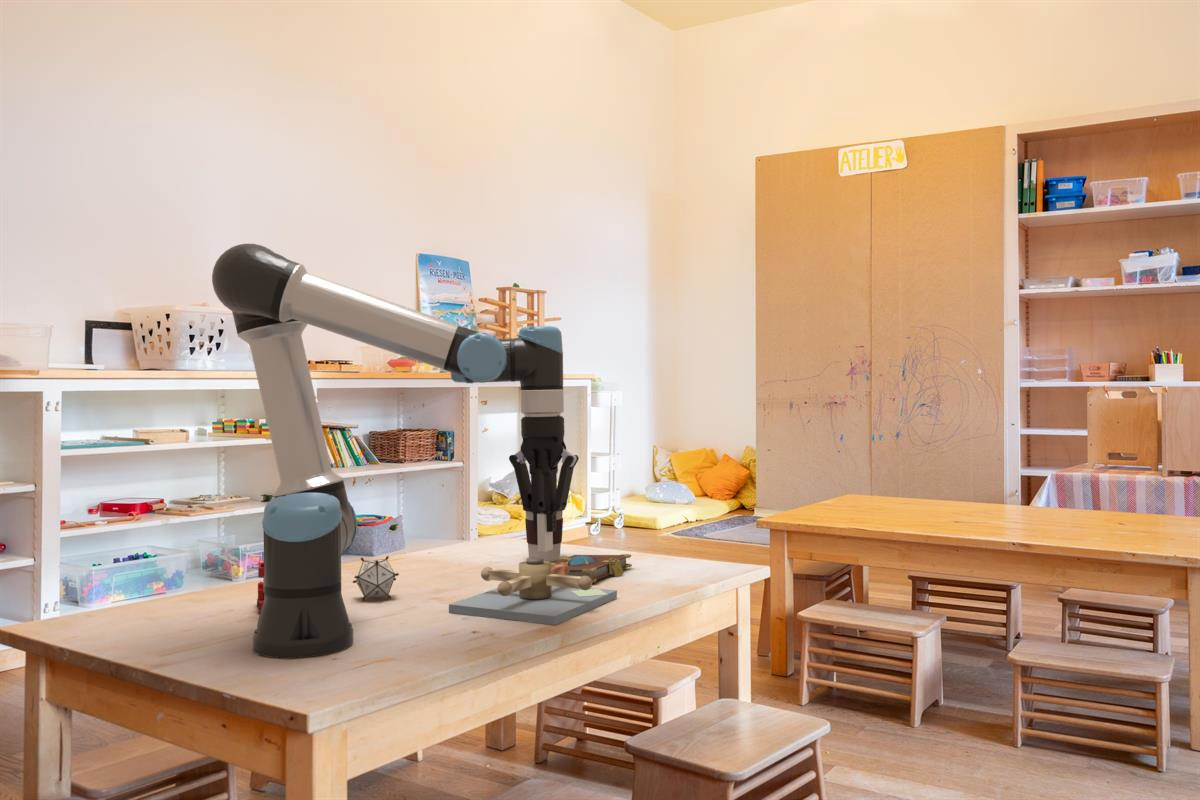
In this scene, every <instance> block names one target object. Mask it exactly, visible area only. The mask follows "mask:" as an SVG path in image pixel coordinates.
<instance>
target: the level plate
mask: <svg viewBox="0 0 1200 800" xmlns="http://www.w3.org/2000/svg"><path fill="white" fill-rule="evenodd" d="M617 598H618V590H615V589H608V588H607V589H606V588H605V589H604V588H597V587H596V588H595V587H591V588H590V589H589V590H582V589H579V588H568V587H558V586H552V596H550V597H548V598H542V599H526V598H521V597H520V596H519V591H517V592H514V593H511V594H509V595H508V596H502V595H500V594H499V592H498V587H497V588H493V589H491V590H487V591H485V592H481V593H478V594H476V595H473V596H470V597H467V598H464V599H461V600H458V601H455V602H452V603H449V604H448V613H449V614H458V615H467V616H473V617H474V616H475V617H481V618H482V617H485V618H490V619H491V618H493V619H500V620H501V619H502V620H509V621H518V622H525V623H526V622H527V623H535V624H544V625H550V626H551V625H553V626H556V625H559V624H561V623H563V622H565V621H568V620H570V619H572V618H575V617H578V616H579V615H581V614H583V613H586V612H588V611H591V610H593V609H595V608H598V607H600V606H602V605H604V604H607V603H609V602H611V601H614V600H616V599H617Z"/></svg>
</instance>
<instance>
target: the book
mask: <svg viewBox="0 0 1200 800" xmlns="http://www.w3.org/2000/svg"><path fill="white" fill-rule="evenodd" d="M631 557H632V554H629V553H623V554H574V555H571V556H568V557H561V556H560V557H559V558H558V561H554V562H551V567H552V566H555V565H558V564H559V563H561V562H564V563H566V564H568V566H569V572H568V574H567V575H568V576H580V577H582V576H588V577H590V578H591V579H592V583H596V582H597V581H599V580H600V579H604V578H606V577H608V576H610V575H613V577H614V578H617V577H621V576H623V574H625V572H624V569H628V568H631V567H632V566H633V564H631V563H627V559H630V558H631Z"/></svg>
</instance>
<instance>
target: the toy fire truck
mask: <svg viewBox="0 0 1200 800" xmlns="http://www.w3.org/2000/svg"><path fill="white" fill-rule="evenodd" d="M257 565H258V571H257V575H258V579H261V578H262V579H263V581H259V582H257V599H256V606H257V613H258V614H260V613H261V609H262V606H263V603H264V561H262V562H258V564H257Z"/></svg>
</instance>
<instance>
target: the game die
mask: <svg viewBox="0 0 1200 800" xmlns="http://www.w3.org/2000/svg"><path fill="white" fill-rule="evenodd" d="M389 559H390V558H389V555H387V556H386V557H385V558H384V559H366V560H365V559H364V557H362V556H360V560H361V561H362V563H361V565H360V569H359V571H358V574H357V575H354V579H356V580H352V583H353V584H356V585H357V586H358V588H359V591H360V592H361V593H362V595H363V597H362V599H361V600H362V602H363V601H365V600H366V598H375V597H377V598H378V597H387V599H388V600H391V595H390V592H391V589H392V587H393V583H394V582H396V581H397V578H396V577H397V576H399V575H400V573H399V572H396V573H395V571H394V569H393V567H392V566H391V565H390V563H389V561H388V560H389Z"/></svg>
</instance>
